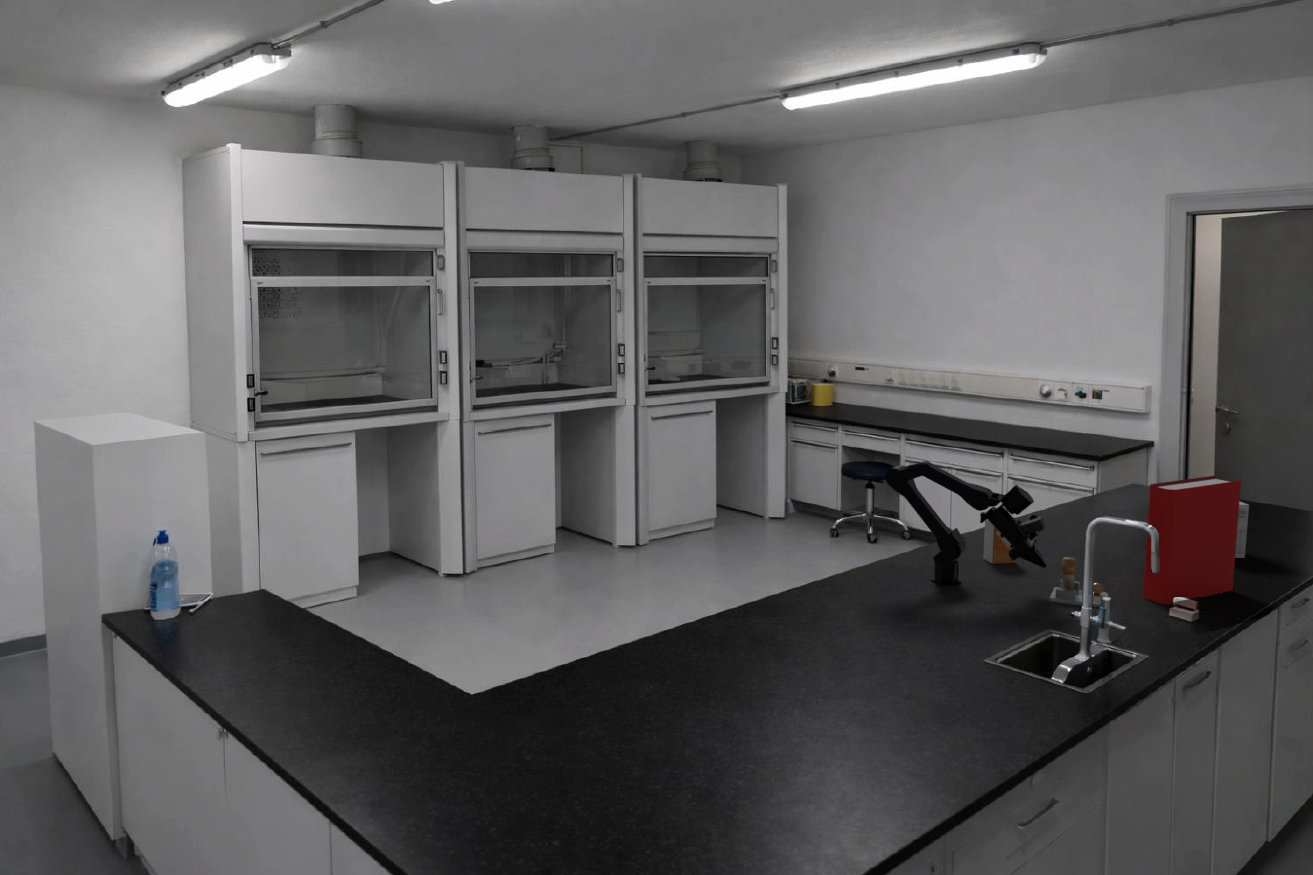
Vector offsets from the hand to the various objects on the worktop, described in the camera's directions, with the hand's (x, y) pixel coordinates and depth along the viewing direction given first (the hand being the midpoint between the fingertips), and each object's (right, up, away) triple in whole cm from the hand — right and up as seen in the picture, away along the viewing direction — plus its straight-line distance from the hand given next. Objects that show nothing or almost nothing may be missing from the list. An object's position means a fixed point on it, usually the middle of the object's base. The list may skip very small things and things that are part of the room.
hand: (1045, 566), depth 283 cm
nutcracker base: (+8, -9, -3) cm, 12 cm away
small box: (-1, -3, +35) cm, 35 cm away
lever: (+5, -6, -2) cm, 8 cm away
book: (+40, -8, 0) cm, 41 cm away
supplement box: (+70, -1, +40) cm, 80 cm away
